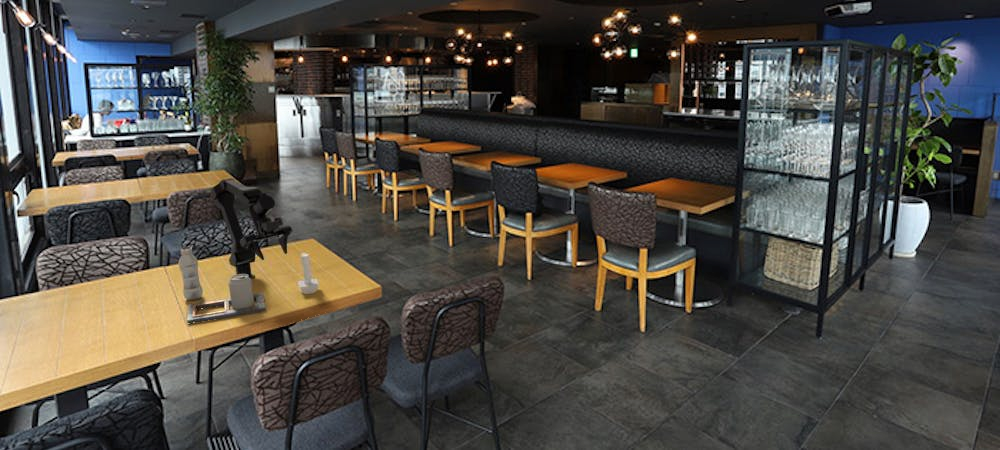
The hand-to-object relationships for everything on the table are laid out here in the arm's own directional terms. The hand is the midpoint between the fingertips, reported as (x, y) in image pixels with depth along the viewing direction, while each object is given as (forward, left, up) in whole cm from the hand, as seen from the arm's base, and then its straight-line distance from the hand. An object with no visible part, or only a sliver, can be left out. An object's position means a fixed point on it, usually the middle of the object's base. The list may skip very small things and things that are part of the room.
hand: (274, 256), depth 226 cm
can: (+2, -15, -15) cm, 22 cm away
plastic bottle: (-20, -24, -15) cm, 35 cm away
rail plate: (0, -20, -15) cm, 25 cm away
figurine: (+6, +9, -15) cm, 19 cm away
